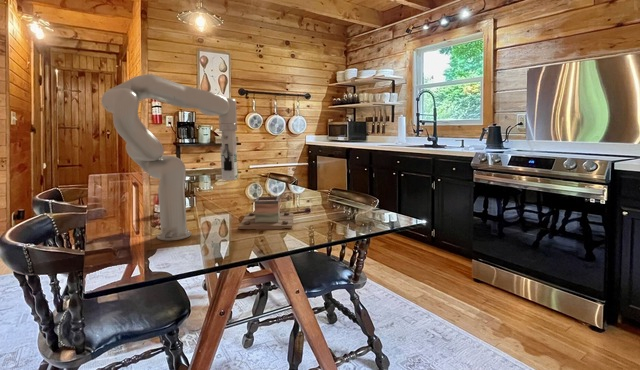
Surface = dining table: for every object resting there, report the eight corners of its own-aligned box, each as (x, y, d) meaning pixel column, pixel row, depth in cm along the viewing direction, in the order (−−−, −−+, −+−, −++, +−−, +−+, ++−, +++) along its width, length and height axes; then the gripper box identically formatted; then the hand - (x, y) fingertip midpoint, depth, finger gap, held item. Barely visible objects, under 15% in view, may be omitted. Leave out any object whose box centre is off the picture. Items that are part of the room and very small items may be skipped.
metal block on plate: (292, 228, 165) (291, 203, 163) (239, 229, 164) (238, 204, 162) (293, 216, 187) (293, 193, 185) (246, 216, 186) (245, 194, 184)
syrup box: (235, 180, 169) (234, 146, 167) (221, 180, 169) (220, 146, 167) (238, 178, 175) (237, 145, 173) (224, 178, 175) (223, 145, 173)
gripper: (233, 128, 160) (234, 172, 163) (240, 127, 177) (241, 167, 180) (214, 128, 160) (216, 172, 163) (223, 127, 177) (224, 167, 180)
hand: (229, 169), depth 171 cm, fingers closed on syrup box, 5 cm apart
